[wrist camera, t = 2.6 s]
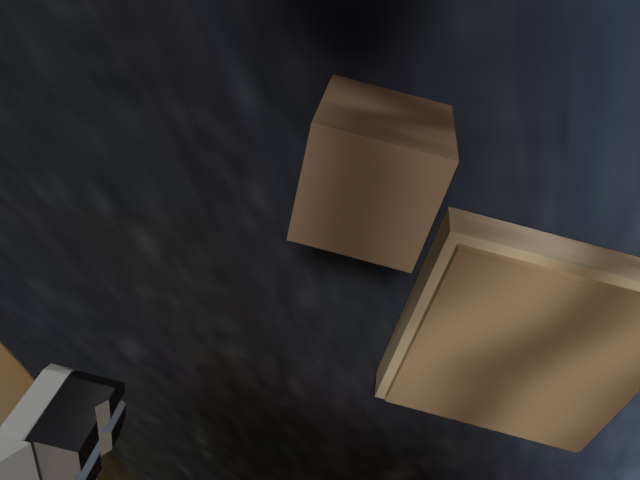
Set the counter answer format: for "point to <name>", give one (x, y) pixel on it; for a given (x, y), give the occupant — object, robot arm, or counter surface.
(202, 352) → the counter surface
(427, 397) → the square wooden base
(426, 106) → the cube
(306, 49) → the counter surface
